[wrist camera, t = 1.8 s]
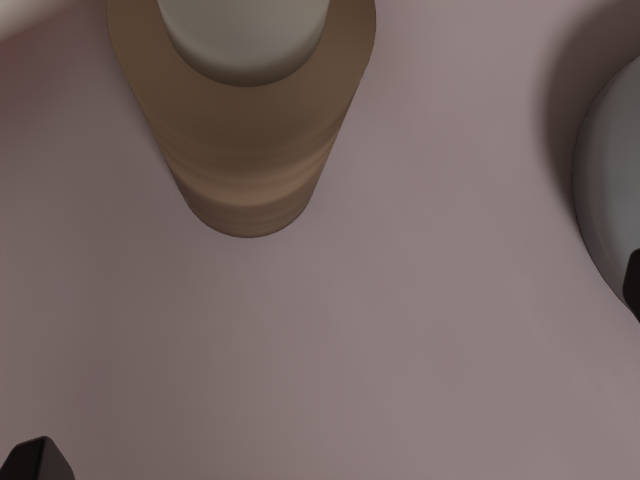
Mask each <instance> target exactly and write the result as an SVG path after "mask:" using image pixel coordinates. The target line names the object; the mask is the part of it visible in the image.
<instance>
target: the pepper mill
mask: <svg viewBox="0 0 640 480" xmlns="http://www.w3.org/2000/svg"><path fill="white" fill-rule="evenodd" d="M106 13H107V26H108V31H109V36H110V40H111V44H112V47H113V49H114V52H115V55H116V57H117V60H118V62H119V64H120V66H121V68H122V70H123V72H124V74H125V76H126V79H127V81H128V83H129V85H130V87H131V89H132V91H133V93H134V95H135V97H136V99H137V101H138V103H139V105H140V108H141V110H142V112H143V114H144V116H145V118H146V120H147V122H148V124H149V126H150V128H151V130H152V132H153V135H154V137H155V139H156V141H157V143H158V145H159V147H160V149H161V151H162V153H163V155H164V157H165V159H166V162H167V164H168V166H169V168H170V170H171V172H172V174H173V176H174V178H175V180H176V182H177V184H178V186H179V188H180V191H181V193H182V195H183V197H184V199H185V201H186V202H187V204H188V206H189V207H190V209H191V210H192V212H193V213H194V214H195V215H196V216H197V217H198V218H199V219H200V220H201V221H202V222H204V223H205V224H206V225H207V226H209V227H211V228H212V229H214V230H216V231H218V232H220V233H223V234H226V235H229V236H233V237H240V238H256V237H262V236H267V235H270V234H273V233H275V232H278V231H279V230H281V229H283V228H285V227H286V226H288V225H289V224H291V223H292V222H293V221H294V220H295V219H296V218H297V217H298V216H299V215H300V214H301V213H302V212H303V210H304V209H305V207H306V206H307V204H308V203H309V200H310V198H311V196H312V194H313V191H314V189H315V186H316V184H317V182H318V179H319V177H320V175H321V172H322V170H323V168H324V165H325V163H326V161H327V158H328V156H329V153H330V151H331V149H332V146H333V144H334V142H335V139H336V137H337V135H338V132H339V130H340V128H341V125H342V123H343V120H344V118H345V116H346V113H347V111H348V109H349V106H350V104H351V102H352V99H353V97H354V95H355V92H356V90H357V87H358V85H359V83H360V80H361V78H362V76H363V73H364V71H365V69H366V66H367V64H368V62H369V59H370V56H371V52H372V49H373V45H374V39H375V32H376V9H375V2H374V0H107V7H106Z"/></svg>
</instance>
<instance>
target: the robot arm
mask: <svg viewBox="0 0 640 480" xmlns="http://www.w3.org/2000/svg"><path fill="white" fill-rule="evenodd" d="M622 294H623V297H624V300H625V302H626V304H627V305H628V307H629V308H630V310H631V311H632V313H633V314H634V316H635V317H636V319H637V320H638V322H639V323H640V248H638V249H635V250H634V251H633V252H632V253H631V254H630V256H629V260H628V264H627V268H626V272H625V276H624V280H623V284H622ZM0 480H75V477H74V474H73V471H72V469H71V467H70V465H69V464H68V462H67V461H66V459H65V458H64V456H63V455H62V453H61V452H60V451H59V449H58V448H57V446H56V445H55V443H54V442H53V441H52V439H51V438H49V437H47V436H41V437H38V438H35V439H31V440H28V441H25V442H22V443H19V444H18V445H16V446H15V447H14V448H13V449H12V451H11V452H10V454H9V455H8V457H7V459H6V460H5V462H4V464H3V465H2V467H1V469H0Z"/></svg>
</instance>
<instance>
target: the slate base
mask: <svg viewBox="0 0 640 480" xmlns="http://www.w3.org/2000/svg"><path fill="white" fill-rule="evenodd" d="M572 180H573V198H574V203H575V209H576V214H577V219H578V223H579V226H580V229H581V232H582V235H583V239H584V241H585V244H586V246H587V248H588V250H589V253H590V255H591V257H592V259H593V261H594V263H595V265H596V266H597V268H598V270H599V271H600V273H601V275H602V276H603V278H604V280H605V281H606V283H607V284H608V285H609V286H610V288H611V289H612V290H613V292H614V293H615V294H616V295H617V297H618V298H619V299H620V300H621V301H622V302H623V303H624V304H625V305H626V306H627V307H628V305H627V304H626V302H625V300H624V297H623V294H622V284H623V280H624V276H625V272H626V268H627V264H628V260H629V256H630V254H631V253H632V252H633V251H634V250H635V249H638V248H640V55H639V56H638V57H637V58H635V59H634V60H633V61H631V62H630V63H629V64H627V65H626V66H624V67H623V68H622V69H620V70H619V71H618V72H617V73H616V74H615V75H614V76H613V77H612V78H611V79H610V80H609V81H608V82H607V83H606V84H605V85H604V86H603V88H602V89H601V91H600V92H599V93H598V95H597V96H596V97H595V99H594V100H593V102H592V104H591V106H590V108H589V110H588V112H587V113H586V115H585V117H584V120H583V123H582V126H581V129H580V131H579V134H578V138H577V143H576V147H575V152H574V160H573V173H572ZM628 308H629V307H628ZM629 309H630V308H629Z"/></svg>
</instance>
